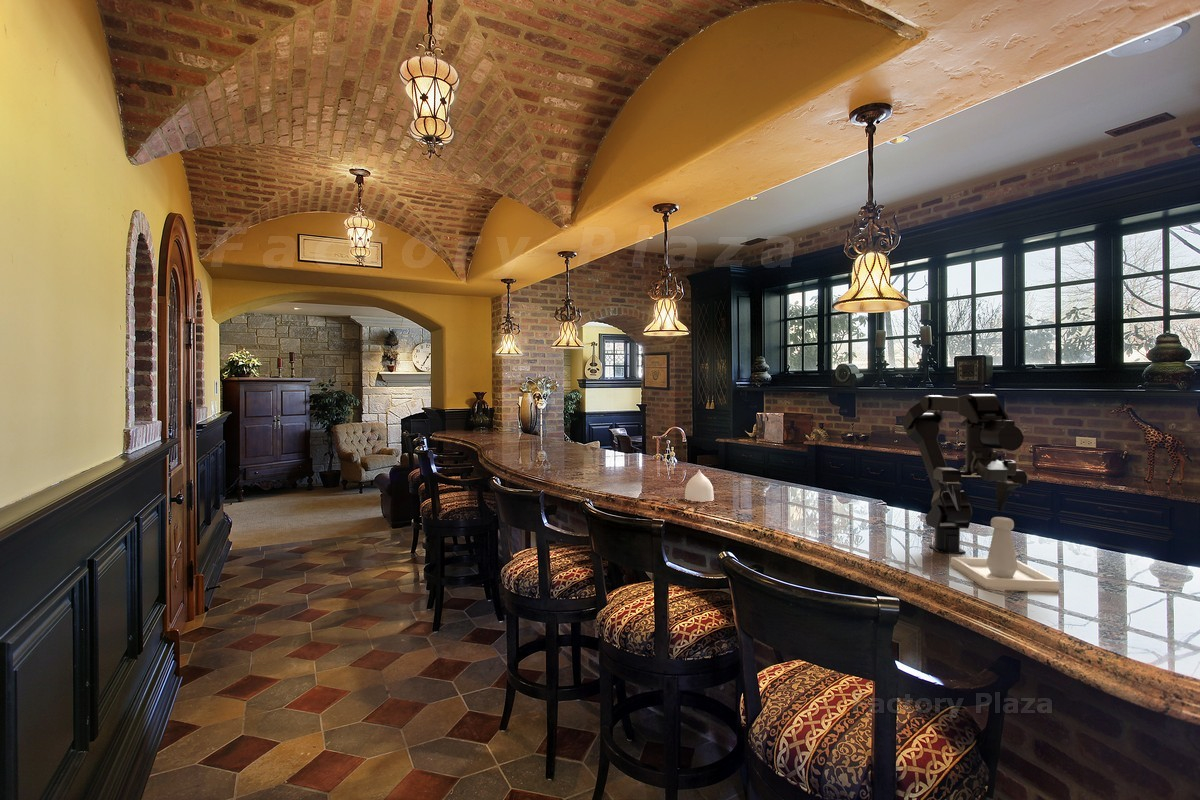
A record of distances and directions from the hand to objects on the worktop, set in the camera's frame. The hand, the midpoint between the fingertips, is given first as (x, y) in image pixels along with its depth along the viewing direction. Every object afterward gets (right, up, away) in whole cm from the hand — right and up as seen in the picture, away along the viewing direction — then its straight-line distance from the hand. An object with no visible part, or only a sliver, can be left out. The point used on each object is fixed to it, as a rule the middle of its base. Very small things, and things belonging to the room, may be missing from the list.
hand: (979, 510), depth 140 cm
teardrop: (-54, -12, +81) cm, 98 cm away
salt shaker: (-1, -13, -10) cm, 16 cm away
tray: (-1, -13, -10) cm, 16 cm away
